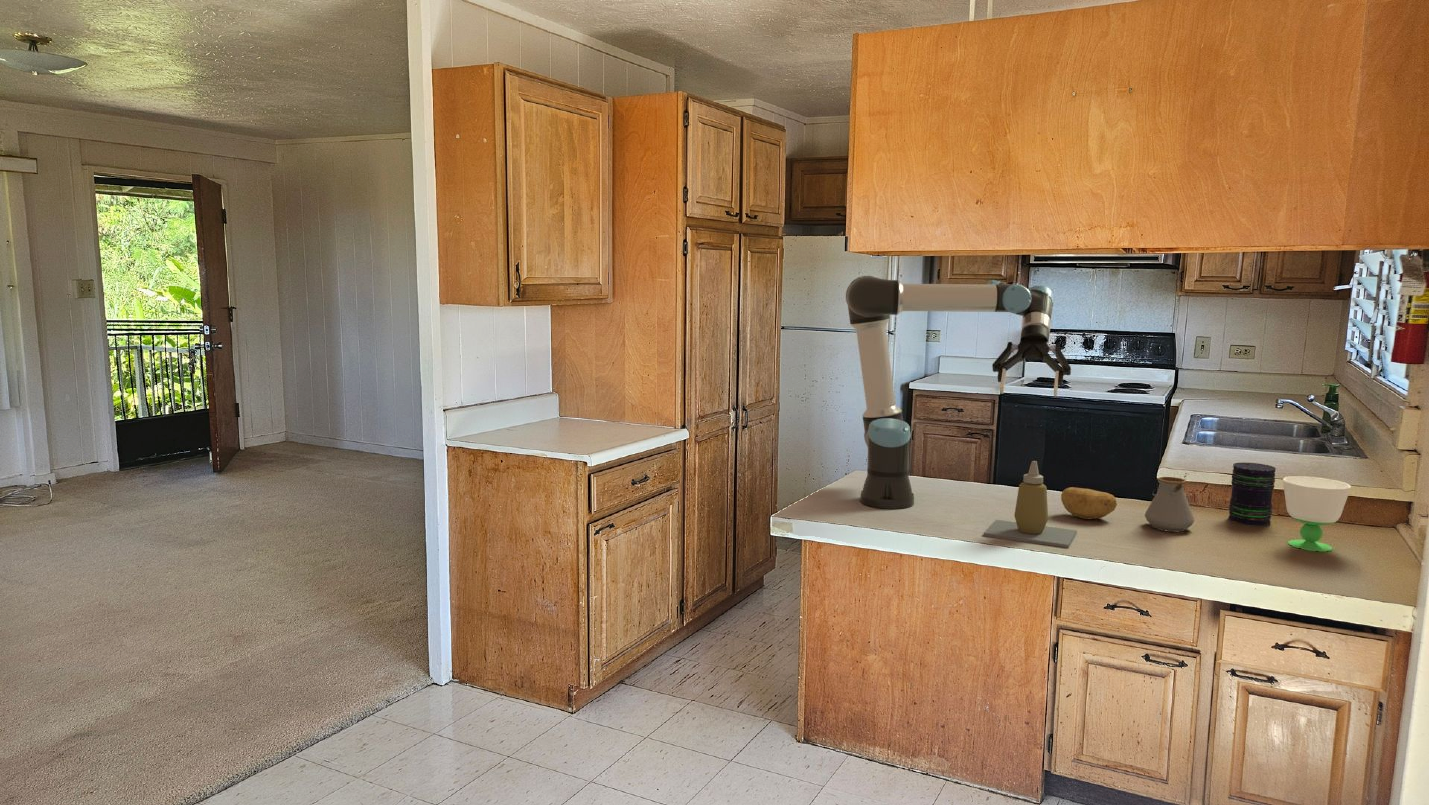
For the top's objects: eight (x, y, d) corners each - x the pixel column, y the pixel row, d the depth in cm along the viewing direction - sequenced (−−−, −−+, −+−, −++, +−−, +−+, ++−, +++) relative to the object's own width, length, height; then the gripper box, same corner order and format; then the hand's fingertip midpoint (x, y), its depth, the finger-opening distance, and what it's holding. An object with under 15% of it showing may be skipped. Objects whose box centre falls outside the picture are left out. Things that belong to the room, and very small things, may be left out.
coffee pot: (1142, 520, 239) (1146, 465, 237) (1190, 524, 235) (1195, 468, 232) (1149, 542, 219) (1153, 482, 217) (1202, 547, 215) (1207, 486, 213)
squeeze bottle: (1007, 531, 225) (1010, 461, 223) (1023, 525, 231) (1027, 456, 228) (1037, 538, 219) (1041, 466, 217) (1053, 531, 225) (1057, 461, 222)
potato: (1113, 526, 233) (1115, 496, 231) (1056, 518, 240) (1058, 489, 239) (1118, 517, 241) (1120, 488, 240) (1063, 510, 248) (1065, 482, 247)
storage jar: (1279, 526, 233) (1284, 470, 231) (1241, 526, 233) (1246, 470, 231) (1256, 516, 243) (1261, 462, 240) (1220, 516, 243) (1224, 462, 240)
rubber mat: (983, 535, 224) (983, 532, 224) (995, 522, 236) (996, 519, 236) (1068, 548, 214) (1068, 544, 214) (1076, 533, 226) (1076, 530, 226)
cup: (1293, 553, 210) (1300, 488, 208) (1266, 536, 224) (1272, 475, 221) (1356, 556, 208) (1364, 490, 206) (1325, 539, 222) (1332, 477, 219)
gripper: (1082, 342, 249) (1078, 402, 238) (990, 339, 259) (981, 397, 247) (1083, 324, 243) (1078, 385, 232) (988, 322, 253) (979, 380, 242)
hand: (1028, 391), depth 240 cm, fingers open, 13 cm apart
